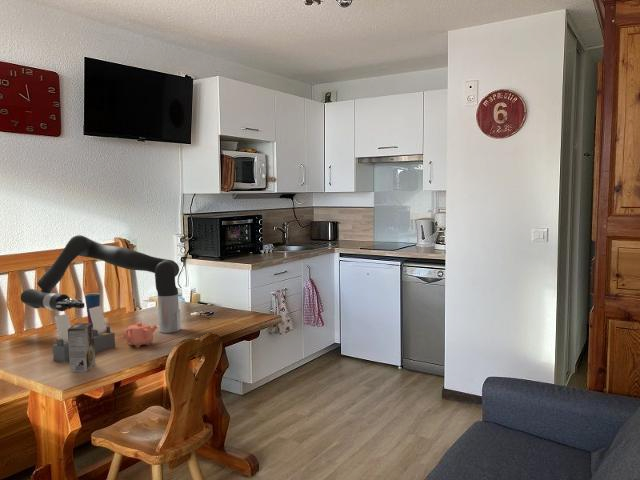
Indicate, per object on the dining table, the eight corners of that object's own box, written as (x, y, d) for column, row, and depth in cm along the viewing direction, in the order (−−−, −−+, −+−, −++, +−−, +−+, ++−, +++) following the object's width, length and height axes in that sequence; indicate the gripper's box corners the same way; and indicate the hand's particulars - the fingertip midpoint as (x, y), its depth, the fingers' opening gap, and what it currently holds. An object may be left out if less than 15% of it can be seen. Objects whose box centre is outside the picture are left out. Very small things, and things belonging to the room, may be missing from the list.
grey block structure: (53, 359, 211) (52, 338, 211) (103, 344, 233) (102, 325, 232) (65, 362, 208) (63, 340, 207) (115, 346, 229) (114, 326, 228)
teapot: (158, 341, 237) (157, 319, 236) (148, 348, 225) (147, 325, 224) (132, 341, 237) (131, 319, 236) (121, 348, 225) (120, 325, 225)
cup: (104, 322, 273) (102, 293, 271) (94, 326, 266) (93, 296, 265) (93, 322, 275) (91, 293, 274) (83, 325, 269) (81, 295, 267)
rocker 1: (60, 344, 211) (54, 316, 211) (71, 341, 215) (65, 314, 216) (63, 343, 210) (56, 315, 211) (74, 340, 214) (68, 313, 215)
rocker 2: (95, 334, 225) (88, 308, 225) (104, 331, 229) (98, 306, 230) (97, 334, 224) (91, 308, 225) (107, 331, 229) (101, 305, 229)
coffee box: (78, 364, 205) (76, 322, 204) (95, 363, 205) (93, 322, 204) (69, 372, 196) (66, 328, 194) (87, 371, 196) (85, 328, 195)
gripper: (42, 296, 233) (68, 299, 224) (69, 291, 244) (95, 294, 236) (43, 313, 233) (69, 317, 225) (70, 307, 245) (96, 311, 237)
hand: (82, 305), depth 231 cm, fingers closed
